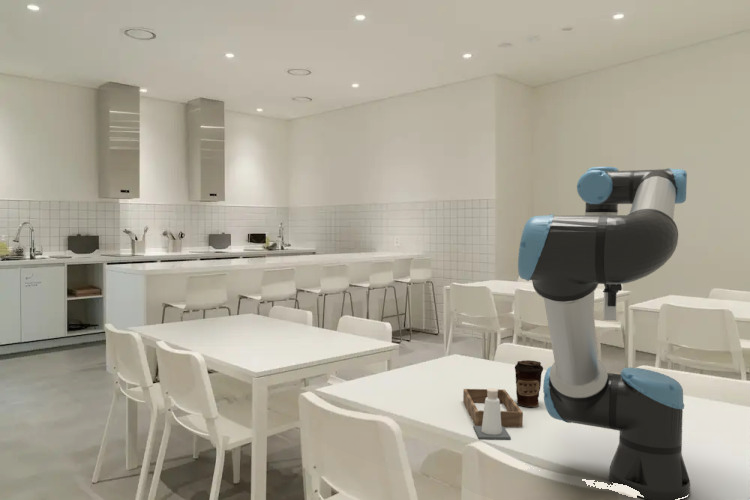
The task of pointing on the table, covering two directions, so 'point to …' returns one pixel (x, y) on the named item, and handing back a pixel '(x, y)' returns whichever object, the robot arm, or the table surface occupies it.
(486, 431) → the salt shaker
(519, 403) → the coffee cup
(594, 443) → the table surface
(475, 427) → the mat
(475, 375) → the table surface
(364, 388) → the table surface
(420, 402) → the table surface
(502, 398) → the tray
